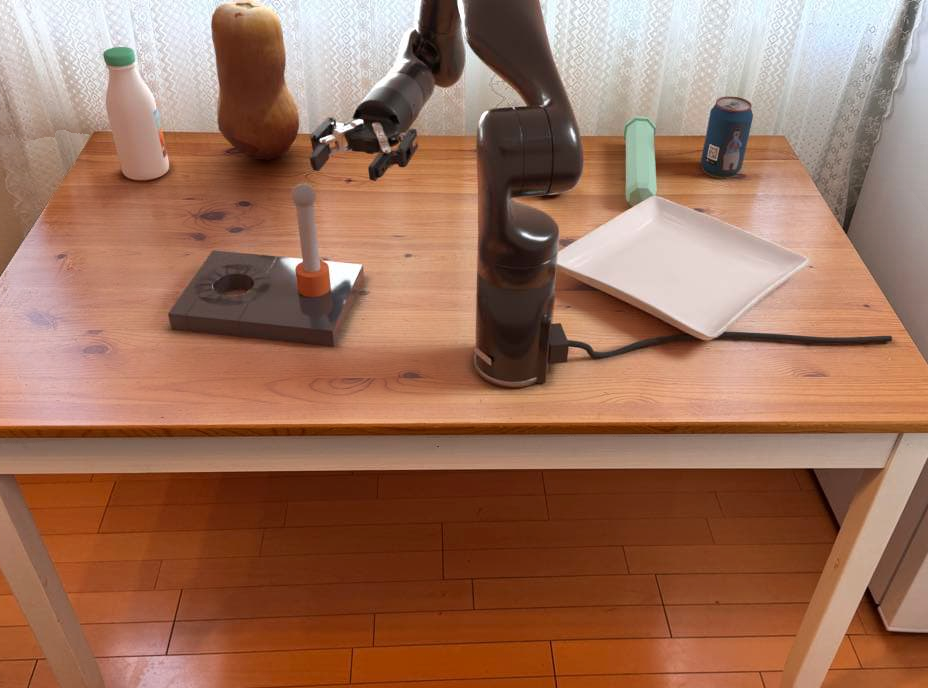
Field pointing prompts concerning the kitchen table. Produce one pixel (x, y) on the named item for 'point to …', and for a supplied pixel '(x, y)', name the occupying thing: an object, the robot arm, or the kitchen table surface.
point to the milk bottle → (133, 118)
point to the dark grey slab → (265, 299)
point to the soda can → (726, 137)
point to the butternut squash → (253, 80)
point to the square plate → (680, 265)
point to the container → (640, 159)
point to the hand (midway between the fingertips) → (342, 170)
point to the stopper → (309, 246)
